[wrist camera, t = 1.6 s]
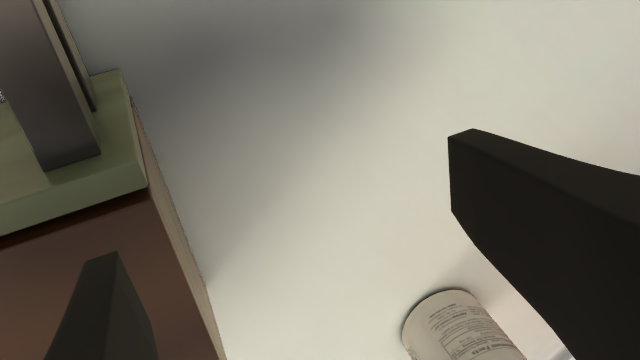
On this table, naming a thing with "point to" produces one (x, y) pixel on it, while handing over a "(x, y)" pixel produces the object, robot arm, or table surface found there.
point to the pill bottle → (455, 331)
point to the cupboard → (137, 256)
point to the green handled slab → (58, 122)
